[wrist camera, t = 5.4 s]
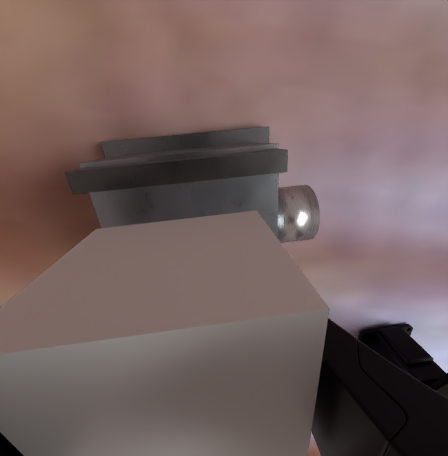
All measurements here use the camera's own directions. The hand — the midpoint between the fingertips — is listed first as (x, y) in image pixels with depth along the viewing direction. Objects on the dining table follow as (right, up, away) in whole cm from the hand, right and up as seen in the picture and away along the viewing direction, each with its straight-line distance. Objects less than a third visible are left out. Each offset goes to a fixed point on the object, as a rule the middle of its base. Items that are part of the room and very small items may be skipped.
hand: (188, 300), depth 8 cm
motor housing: (-1, +4, +10) cm, 11 cm away
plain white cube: (0, 0, +1) cm, 1 cm away
